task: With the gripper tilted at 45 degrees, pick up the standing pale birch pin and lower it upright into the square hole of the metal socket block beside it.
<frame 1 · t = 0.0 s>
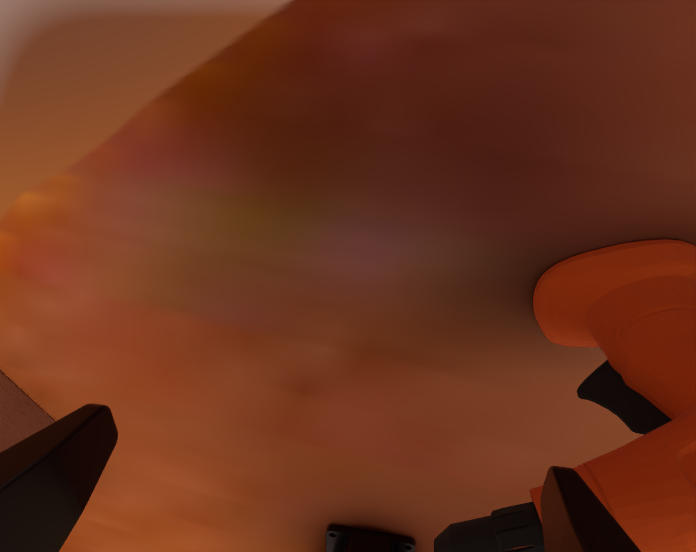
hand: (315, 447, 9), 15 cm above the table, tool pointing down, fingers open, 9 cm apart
toy drill: (519, 308, 24), on the table
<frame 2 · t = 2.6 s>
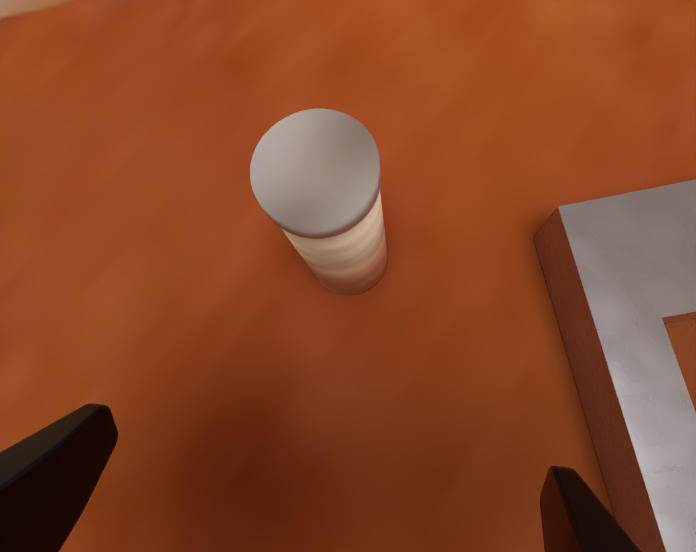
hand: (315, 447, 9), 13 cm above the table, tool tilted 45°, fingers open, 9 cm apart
pin: (349, 257, 25), on the table
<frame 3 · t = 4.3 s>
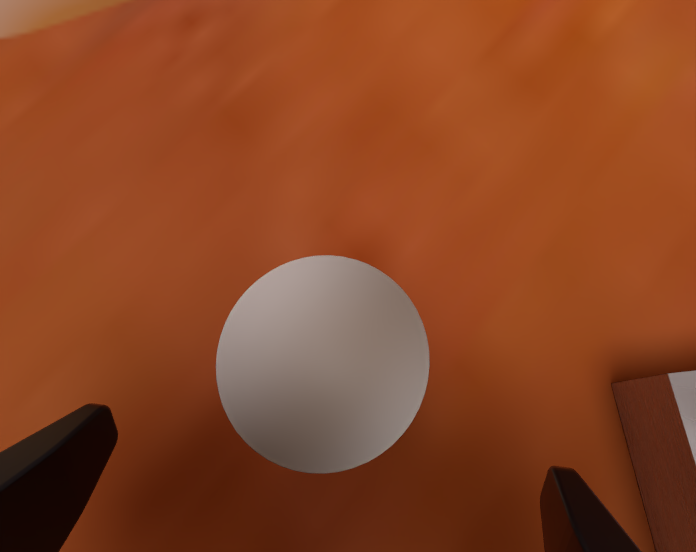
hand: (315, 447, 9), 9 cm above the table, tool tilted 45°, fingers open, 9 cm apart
pin: (362, 389, 19), on the table
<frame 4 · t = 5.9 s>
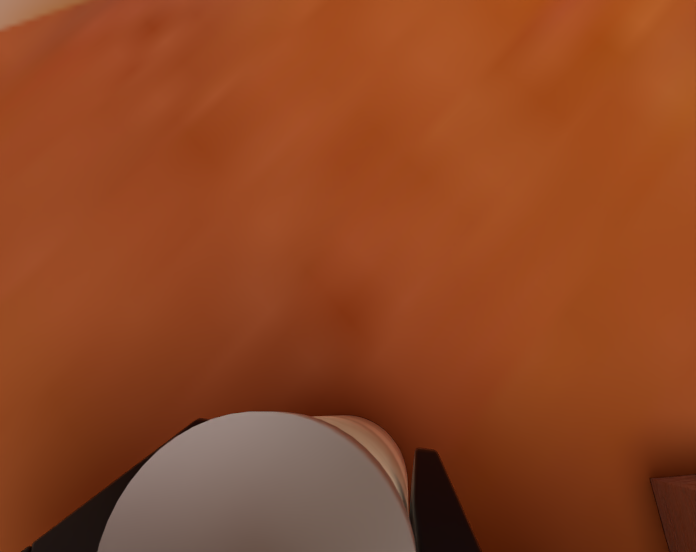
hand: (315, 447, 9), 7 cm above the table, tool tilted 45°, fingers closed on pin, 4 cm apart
pin: (346, 478, 15), on the table, touching gripper
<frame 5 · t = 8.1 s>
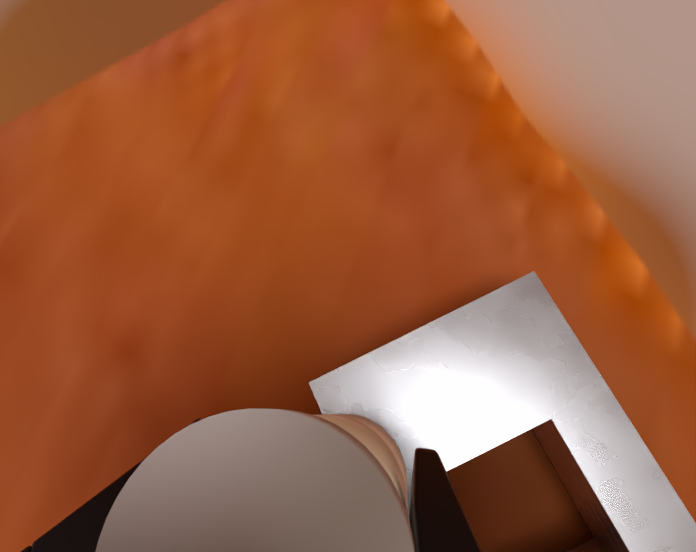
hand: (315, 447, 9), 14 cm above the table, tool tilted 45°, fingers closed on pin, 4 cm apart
socket block: (504, 502, 21), on the table
pin: (345, 477, 15), point 7 cm above the table, touching gripper
when the fingers open (8 cm above the table, at t = 10.5 s): pin stays where it is, resting in socket block.
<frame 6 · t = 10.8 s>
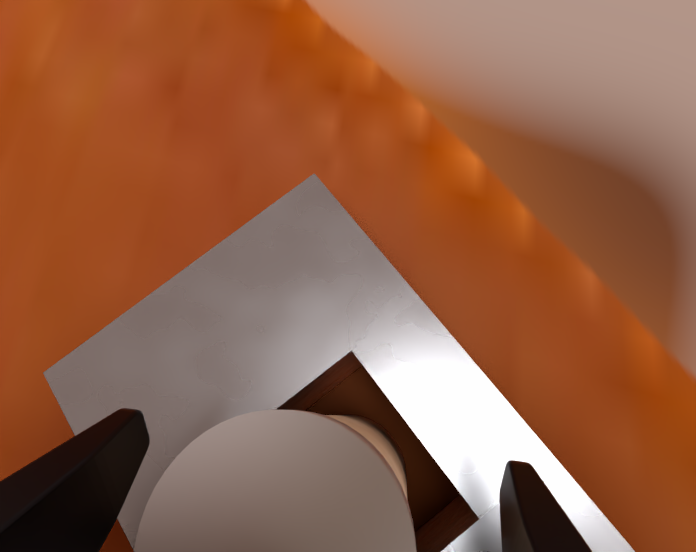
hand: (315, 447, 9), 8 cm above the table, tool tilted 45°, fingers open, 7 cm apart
socket block: (349, 475, 16), on the table
pin: (348, 474, 16), resting in socket block
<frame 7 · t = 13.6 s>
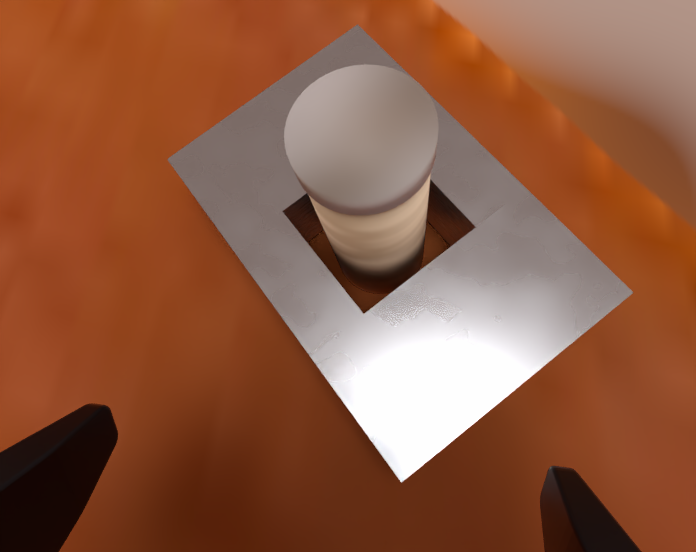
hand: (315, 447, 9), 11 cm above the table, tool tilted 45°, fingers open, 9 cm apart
socket block: (381, 252, 22), on the table
pin: (380, 252, 22), resting in socket block
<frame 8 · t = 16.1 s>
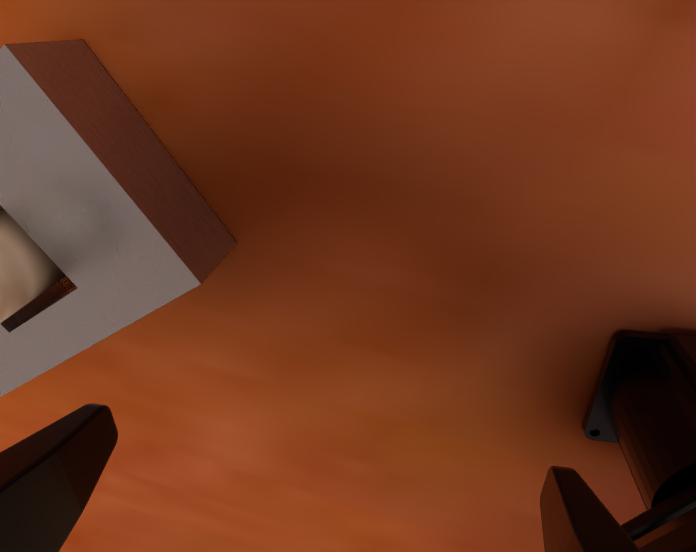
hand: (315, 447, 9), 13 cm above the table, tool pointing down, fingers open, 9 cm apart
socket block: (59, 229, 24), on the table
pin: (59, 229, 24), resting in socket block
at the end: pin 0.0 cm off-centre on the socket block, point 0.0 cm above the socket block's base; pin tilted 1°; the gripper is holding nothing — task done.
